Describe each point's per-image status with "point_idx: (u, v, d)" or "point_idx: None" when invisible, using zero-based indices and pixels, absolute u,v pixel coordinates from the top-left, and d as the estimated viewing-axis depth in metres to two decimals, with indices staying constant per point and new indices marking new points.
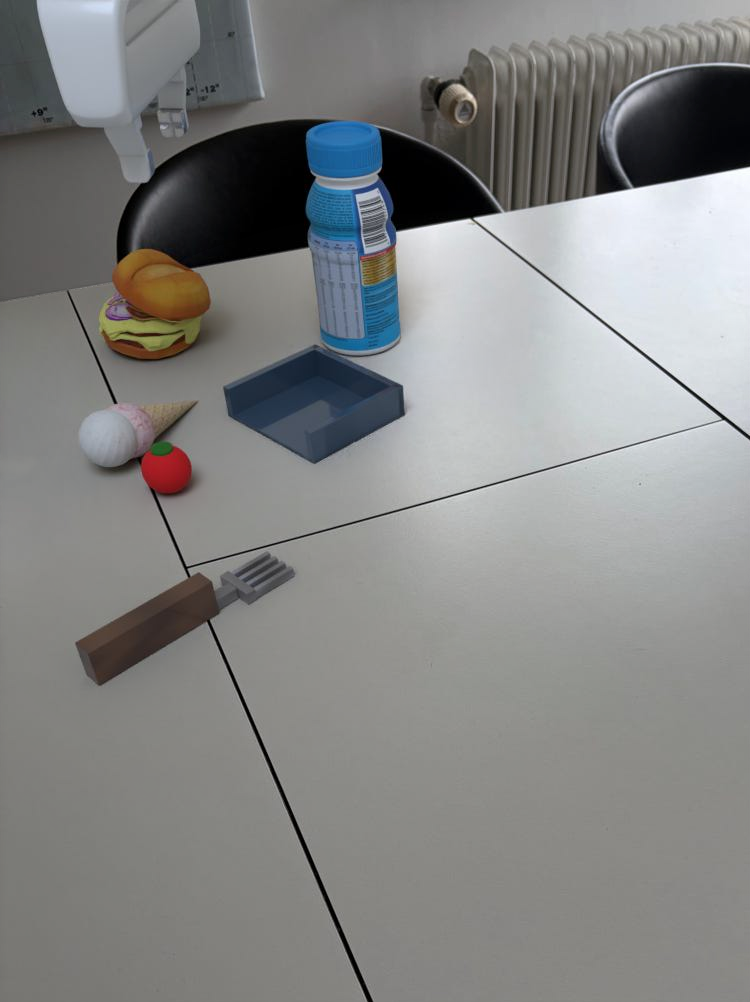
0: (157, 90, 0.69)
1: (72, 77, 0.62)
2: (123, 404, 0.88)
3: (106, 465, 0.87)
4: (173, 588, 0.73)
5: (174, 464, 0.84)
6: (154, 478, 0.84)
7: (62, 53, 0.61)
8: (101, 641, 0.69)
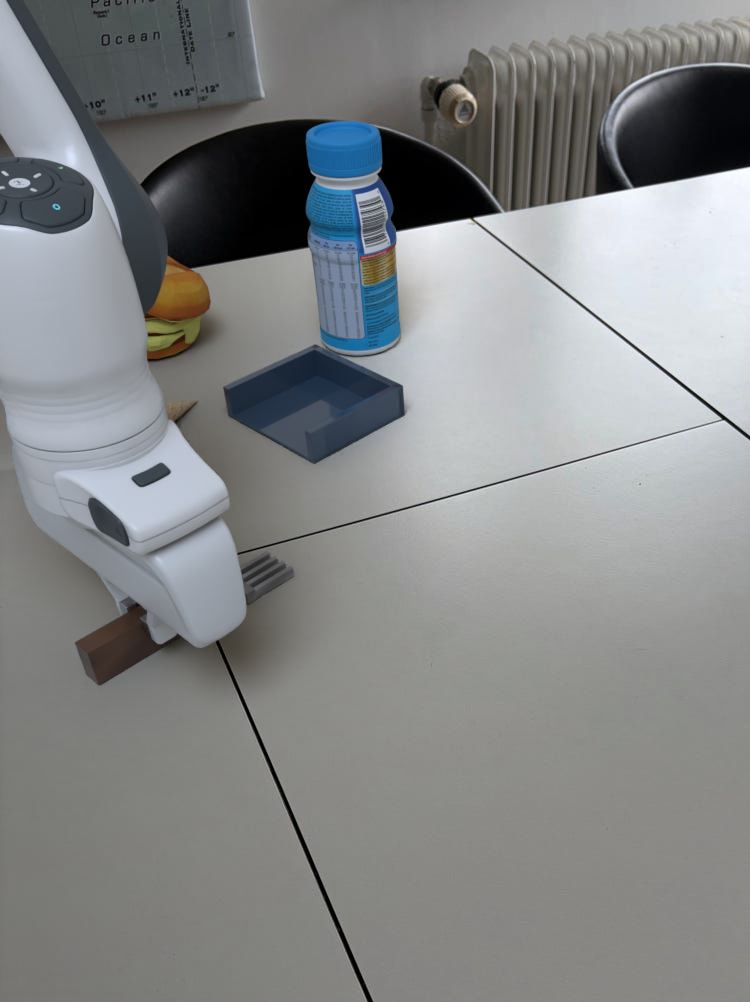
0: None
1: (206, 612, 0.61)
2: None
3: None
4: None
5: None
6: None
7: (196, 597, 0.60)
8: (100, 641, 0.69)
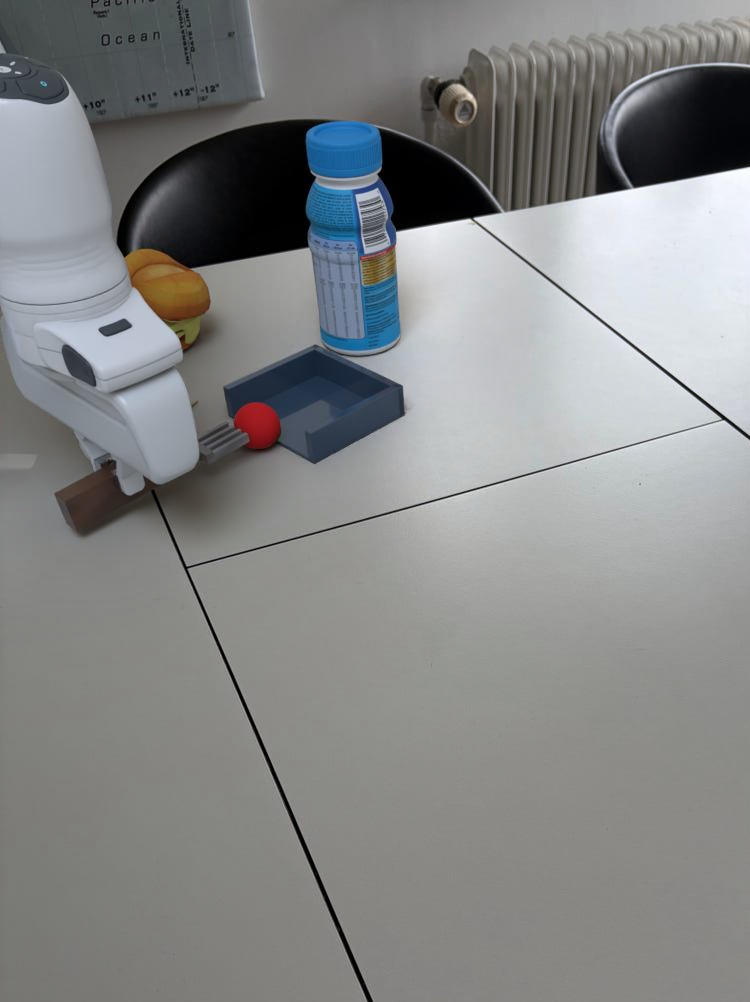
0: None
1: (163, 449, 0.72)
2: None
3: None
4: None
5: (277, 436, 0.90)
6: (274, 413, 0.90)
7: (153, 435, 0.71)
8: (76, 492, 0.79)
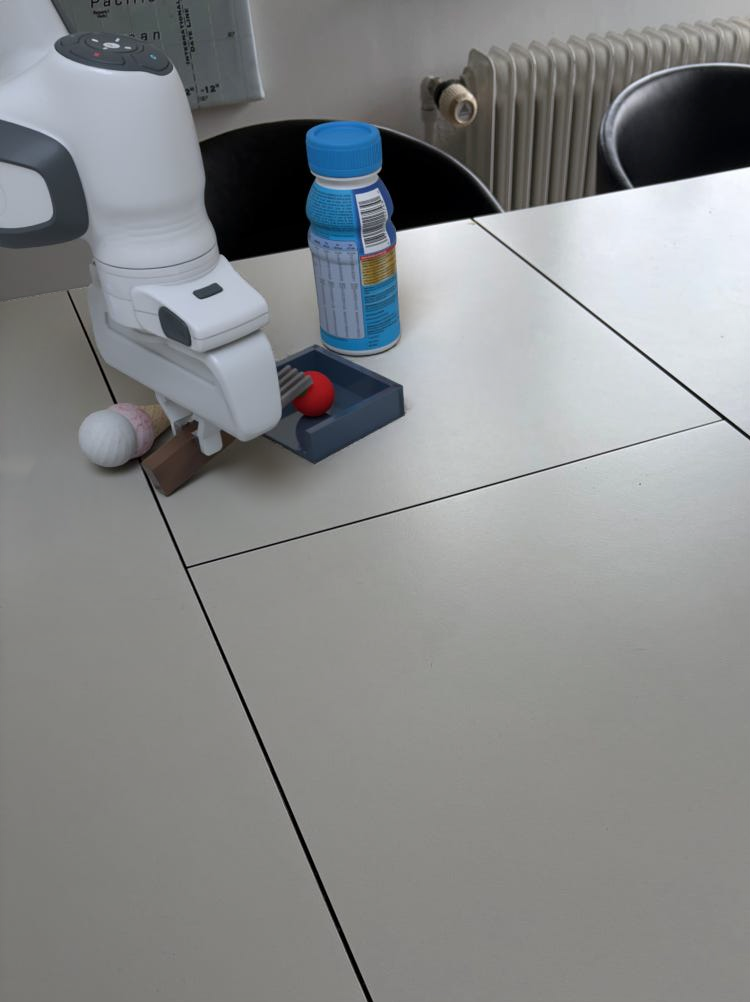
0: None
1: (250, 407, 0.76)
2: (123, 404, 0.88)
3: (106, 465, 0.87)
4: None
5: (317, 392, 0.92)
6: (312, 412, 0.93)
7: (242, 393, 0.75)
8: (160, 459, 0.84)
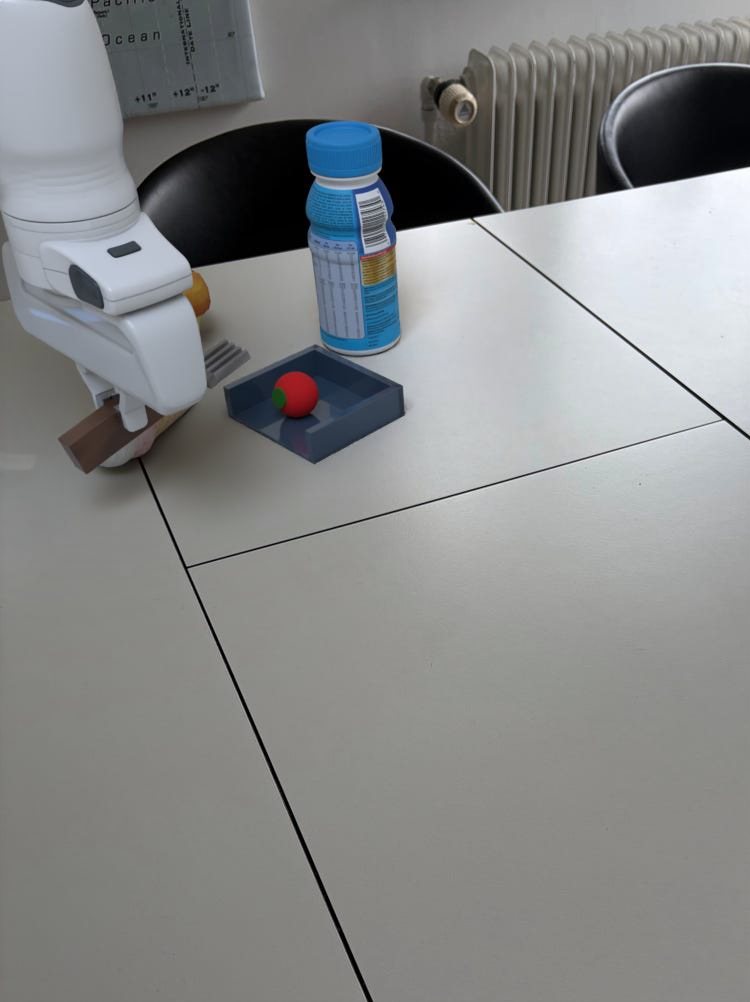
0: None
1: (170, 378, 0.70)
2: None
3: (106, 465, 0.87)
4: None
5: (295, 390, 0.92)
6: (306, 409, 0.93)
7: (161, 362, 0.69)
8: (79, 434, 0.78)
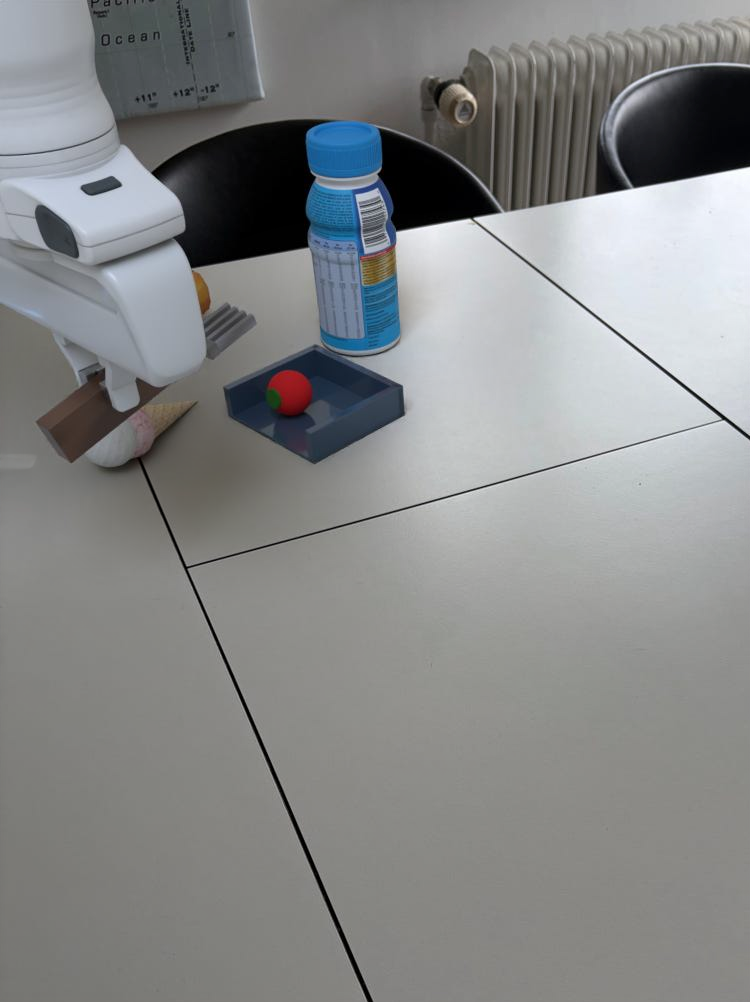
0: None
1: (162, 341, 0.59)
2: None
3: (106, 465, 0.87)
4: None
5: (286, 385, 0.92)
6: (302, 402, 0.93)
7: (151, 321, 0.58)
8: (60, 416, 0.67)
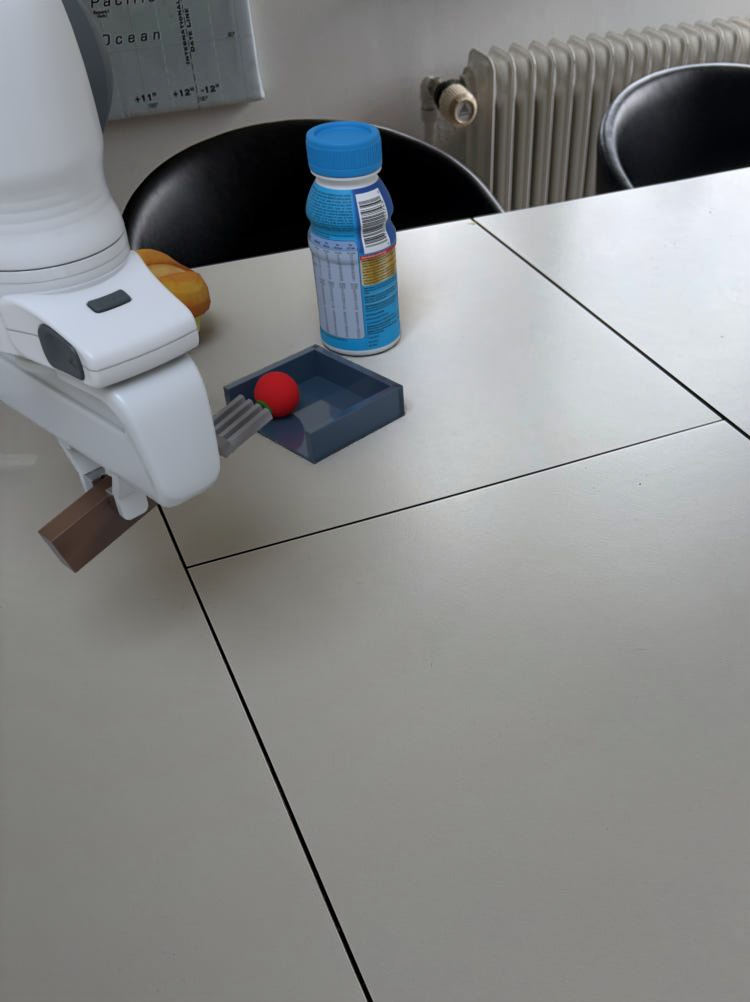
0: None
1: (173, 462, 0.55)
2: None
3: None
4: None
5: (266, 391, 0.92)
6: (288, 398, 0.92)
7: (161, 443, 0.54)
8: (64, 526, 0.63)
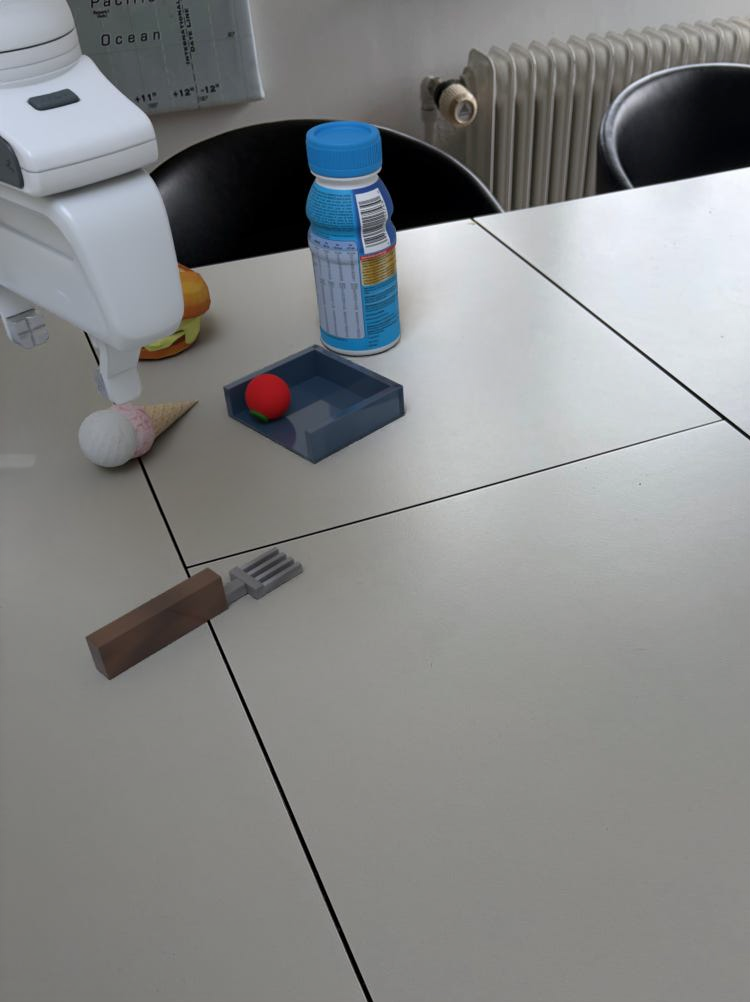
0: None
1: (129, 294, 0.48)
2: (123, 404, 0.88)
3: (106, 465, 0.87)
4: (182, 583, 0.73)
5: (253, 401, 0.92)
6: (275, 400, 0.92)
7: (114, 269, 0.47)
8: (111, 636, 0.69)
